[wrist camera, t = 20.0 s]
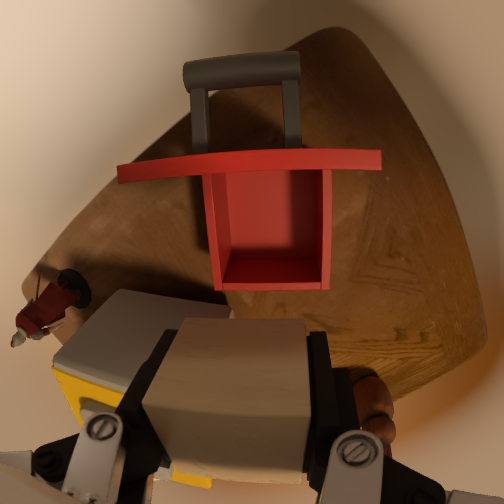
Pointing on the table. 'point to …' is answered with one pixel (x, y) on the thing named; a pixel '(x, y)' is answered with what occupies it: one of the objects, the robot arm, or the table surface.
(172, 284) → the table surface
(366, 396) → the wooden figurine
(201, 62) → the lid
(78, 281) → the figurine
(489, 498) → the robot arm
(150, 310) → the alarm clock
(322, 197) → the open red box
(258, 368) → the block
